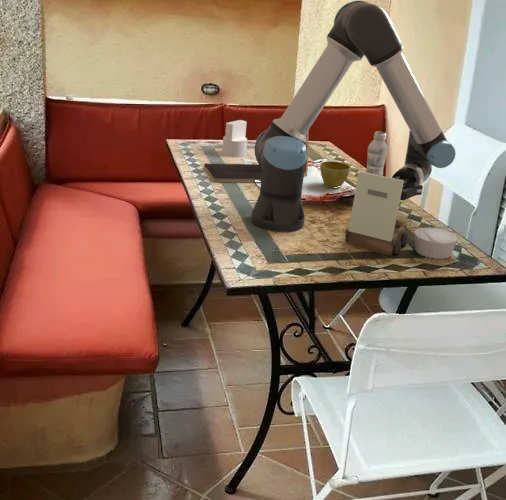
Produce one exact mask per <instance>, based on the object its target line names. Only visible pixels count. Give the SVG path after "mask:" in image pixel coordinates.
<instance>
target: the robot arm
mask: <svg viewBox="0 0 506 500" xmlns="http://www.w3.org/2000/svg"><path fill="white" fill-rule="evenodd" d="M326 41H327V43H326V44H327V45H326V47H325V48H324V50H323V52H322V54H321V55H319V58H318V59H317V61H316V62H315V64H314V66H313V67H312V69H311V71H310V72H309V73H308V75H307V77H305V80H304V81H303V83H302V85H301V86H300V88H299V89H298V91H297V92H296V94H295V95H294V97H293V98H292V100H291V102H289V105H288V106H287V108H286V109H285V111H284V112H283V114H282V115H281V117H279V118H275V119H273V120H272V122H271V123H270V124H269V126H268V128H267V129H266V130H264V131H262V132H261V133H260V134H259V135H258V136H257V138H256V140H255V143H254V156H255V159H256V162H257V163H258V164H259V165H260V167H261V169H262V176H261V182H260V186H259V187H260V191H259V195H258V197H257V200H256V202H255V205H254V206H253V208H252V211H251V218H250V219H251V223H252V224H254V225H255V226H256V227H259V228H260V229H264V230H268V231H274V232H293V231H298V230H300V229H302V228H304V227H305V221H306V216H305V211H304V207H303V200H302V194H303V193H302V192H303V184H304V177H305V176H304V170H305V162H306V159H307V154H306V146H305V144H306V142H307V140H306V133H307V131H308V132H309V130H310V129H311V126H313V124H314V123H315V121H316V119H317V117H318V116H319V115H320V113H322V112H321V111H322V110H323V109H324V107H325V106H326V103H327V102H329V101H328V100H329V99H330V98H331V96H332V95H333V93H334V92H335V90H336V88H337V87H338V86H339V84H340V83H341V81H342V80H343V78H344V77H345V75H346V74H347V72H348V70H349V69H350V68H351V66H352V64H353V63H355V62H359V61H361V60H362V59H363V57H365V59H366V60H367V62H368V63H369V65H370V67H375V69H376V70H377V71H378V73H379V75H380V77H381V79H382V82H383V83H384V85H385V86H386V89H387V91H388V92H389V94H390V96H391V97H392V98H391V99H392V100H393V101H394V103H395V105H396V107H397V108H398V111H399V112H400V114H401V116H402V117H403V120H404V122H405V123H406V125H407V127H408V129H409V131H408V132H409V135H408V141H407V146H406V154H405V159H404V160H405V161H404V165H403V166H402V167H400V168H399V169H398V170H397V171H395V173H393V175H392V177H391V178H394V179H399V180H404V183H403V188H402V193H401V198H400V201H405V200H407V199H411V198H413V197H415V196H419V195H420V196H421V195H422V194H423V189H424V188H423V187H424V186H423V185H422V184H423V183H424V182H426V181H427V180H428V179H429V177H431V174H432V170H433V167H435V168H438V169H445V168H447V167H449V166H450V165H451V164H453V162H454V161H455V159H456V148H455V147H454V145H453V144H452V143H451V142H450V141H448V140H447V138H446V136H445V134H444V132H443V131H442V127H441V126H440V125H439V122H438V120H437V118H436V117H435V115H434V112H433V110H432V108H431V106H430V105H429V103H428V101H427V99H426V97H425V95H424V93H423V91H422V89H421V87H420V86H419V85H420V84H419V82H418V81H417V80H416V78H415V75H414V73H413V72H412V70H411V67H410V66H409V63H408V62H407V60H406V58H405V56H404V54H403V49H404V46H403V43H402V41H401V39H400V37H399V35H398V33H397V31H396V28H395V27H394V24H393V22H392V20H391V18H390V17H389V15H388V13H387V11H385V10H384V9H383V8H382V7H381V6H379V5H376V4H373V3H369V2H367V1H364V0H354V1H350V2H347V3H345V4H344V5H342V6H341V7H340V8H339V9H338V10H337V12H336V14H335V17H334V20H333V25H332V28H331V29H330V30H329V33H328V34H327V35H326Z"/></svg>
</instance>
